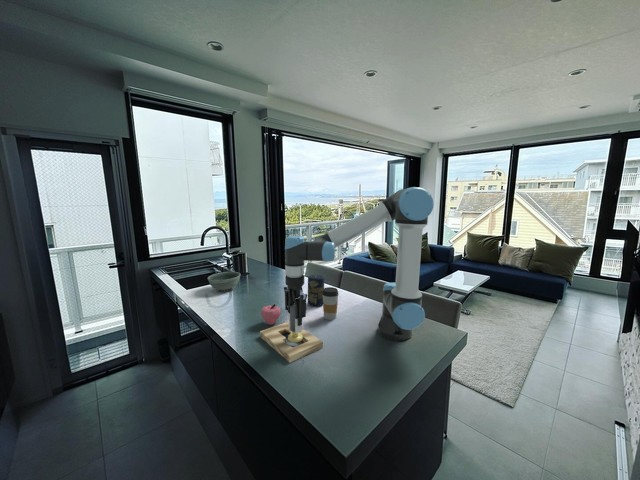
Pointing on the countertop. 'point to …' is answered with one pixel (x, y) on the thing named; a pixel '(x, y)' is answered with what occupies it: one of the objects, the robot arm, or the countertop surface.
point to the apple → (270, 314)
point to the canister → (315, 290)
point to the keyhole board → (290, 354)
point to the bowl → (224, 280)
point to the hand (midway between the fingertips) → (295, 329)
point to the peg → (293, 326)
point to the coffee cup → (330, 302)
